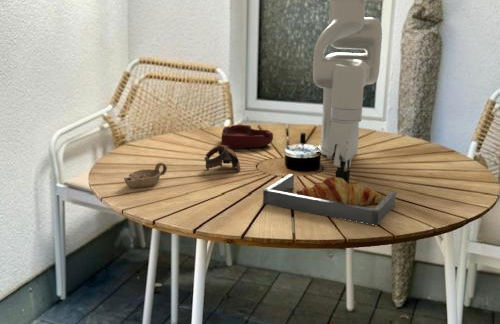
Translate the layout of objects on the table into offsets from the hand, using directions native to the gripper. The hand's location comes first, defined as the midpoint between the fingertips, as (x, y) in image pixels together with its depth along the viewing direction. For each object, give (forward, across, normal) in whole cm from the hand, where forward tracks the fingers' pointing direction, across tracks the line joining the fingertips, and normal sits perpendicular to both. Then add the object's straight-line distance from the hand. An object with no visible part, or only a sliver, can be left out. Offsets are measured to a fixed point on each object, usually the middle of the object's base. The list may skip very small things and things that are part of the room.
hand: (342, 184), depth 150 cm
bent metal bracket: (+3, +9, 0) cm, 9 cm away
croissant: (+3, +6, +2) cm, 7 cm away
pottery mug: (+3, -3, -37) cm, 37 cm away
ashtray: (+3, -30, -46) cm, 55 cm away
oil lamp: (+3, +19, -48) cm, 51 cm away
